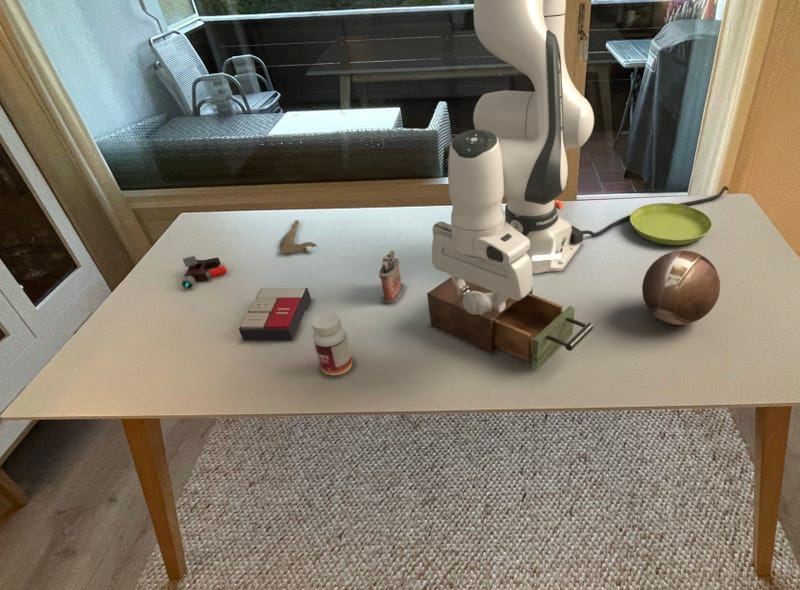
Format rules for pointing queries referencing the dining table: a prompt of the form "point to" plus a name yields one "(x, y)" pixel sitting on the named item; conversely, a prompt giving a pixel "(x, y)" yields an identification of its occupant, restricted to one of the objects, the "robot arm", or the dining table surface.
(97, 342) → the dining table surface
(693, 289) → the wooden sphere
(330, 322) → the pill bottle
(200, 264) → the toy gun
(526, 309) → the drawer
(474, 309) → the white mannequin head
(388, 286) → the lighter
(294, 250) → the jawbone
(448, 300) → the cabinet
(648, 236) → the saucer
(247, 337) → the calculator
